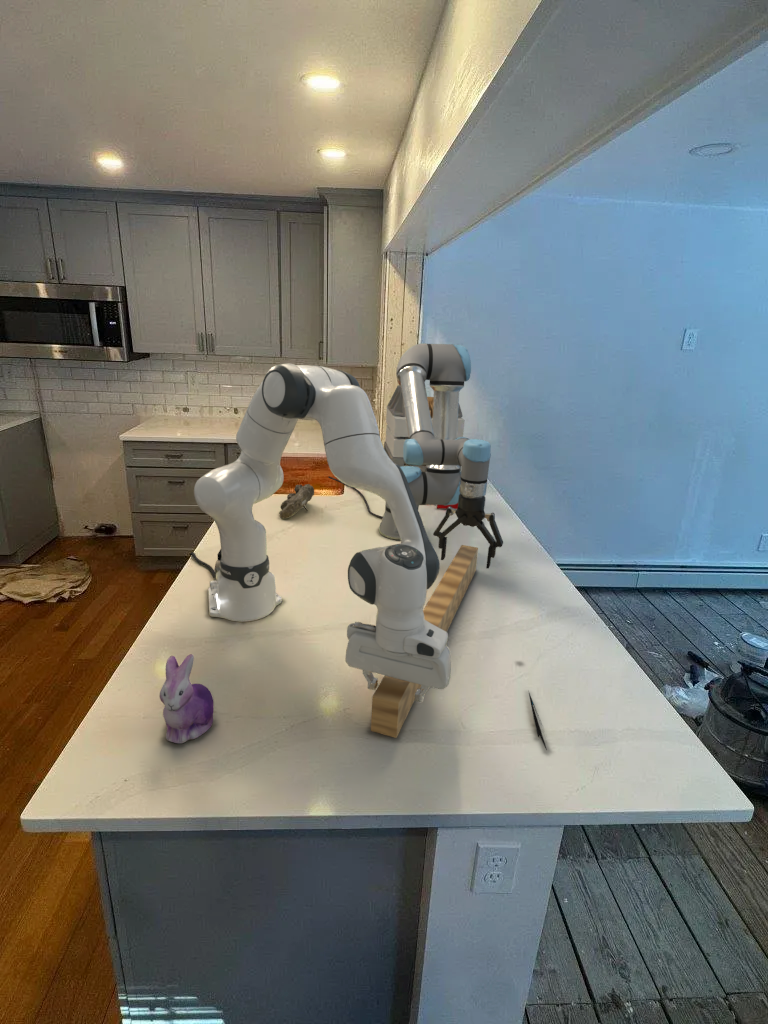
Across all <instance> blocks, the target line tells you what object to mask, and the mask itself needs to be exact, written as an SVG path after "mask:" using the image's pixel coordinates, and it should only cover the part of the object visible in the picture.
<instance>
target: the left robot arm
mask: <svg viewBox="0 0 768 1024" xmlns="http://www.w3.org/2000/svg"><path fill="white" fill-rule="evenodd" d="M299 420H302V421H303V420H304V421H316V422H317V423H318V424H319V426H320V429H321V433H322V441H323V447H324V452H325V457H326V462H327V465H328V467H329V470H330V472H331V473H332V475H333V476H334V478H335V479H337V480H339V481H341V482H343V483H344V484H343V485H345V484H346V485H345V486H347V485H348V486H347V487H349V486H351V487H354V488H356V489H357V490H362V491H366V492H368V493H372V494H374V495H375V496H378V497H379V498H381V499H382V500H383V501H385V504H386V503H387V504H388V506H389V508H390V510H391V513H392V516H393V519H394V522H395V524H396V527H397V530H398V533H399V535H400V538H401V540H400V542H399V543H396V544H390V545H385V546H378V547H374V548H368V549H364V550H361V551H358V552H356V553H354V555H353V556H352V558H351V559H350V561H349V565H348V568H347V581H348V582H347V583H348V586H349V589H350V591H351V592H352V593H353V594H354V595H356V596H357V597H358V598H360V599H361V600H362V601H364V602H366V603H368V604H369V605H374V606H375V607H376V609H377V611H376V612H377V613H376V616H375V625H374V624H369V623H363V622H361V621H354V622H352V623H350V624H349V625H348V626H347V627H346V637H347V640H348V641H347V646H346V651H345V660H344V661H345V663H346V664H347V666H348V667H349V668H350V667H351V668H354V669H358V670H361V671H362V675H363V677H364V679H365V680H366V682H367V689H369V690H372V691H376V689H377V688H378V686H379V683H378V682H379V678H378V677H375V675H374V674H377V675H381V676H389V677H393V678H397V679H401V680H405V681H408V682H412V683H416V684H420V685H421V687H420V689H417V690H416V692H415V699H414V702H418V703H421V704H422V703H423V702H424V699H425V694H427V692H428V691H429V689H430V688H432V689H433V688H434V689H436V690H441V691H442V690H445V689H446V688H447V687H448V686H449V684H450V681H451V677H452V655H451V651H450V648H449V647H448V646H447V644H448V640H449V634H448V631H447V632H446V631H444V630H442V629H440V628H438V627H437V626H435V625H433V624H431V623H429V622H428V621H426V620H425V619H424V612H423V610H424V607H425V603H426V600H427V592H428V590H430V588H432V586H433V585H434V583H435V582H436V580H437V578H438V576H439V573H440V570H441V568H440V567H441V565H440V564H441V563H440V558H439V556H438V553H437V551H436V550H435V548H434V546H433V544H432V542H431V540H430V538H429V536H428V534H427V531H426V528H425V526H424V522H423V520H422V517H421V515H420V511H419V508H417V506H416V503H415V500H414V497H413V495H412V492H411V489H410V487H409V484H408V481H407V479H406V477H405V474H404V472H403V471H402V469H401V468H400V466H399V465H397V464H395V463H393V462H392V460H391V459H390V458H389V456H388V455H387V453H386V452H385V450H384V444H383V442H382V440H381V439H382V438H381V434H380V430H379V426H378V422H377V418H376V415H375V412H374V409H373V406H372V404H371V401H370V399H369V397H368V395H367V393H366V391H365V390H364V389H363V388H361V386H360V383H359V381H358V380H357V378H356V377H355V376H354V375H352V374H350V373H348V371H347V372H346V371H345V370H342V369H334V368H330V367H326V366H323V365H316V364H315V365H311V364H310V365H309V364H308V365H307V364H294V363H288V362H287V363H280V364H276V365H273V366H272V367H270V368H269V369H268V371H266V373H265V375H264V378H263V379H262V381H261V383H260V384H259V385H258V387H257V389H256V390H255V392H254V393H253V395H252V398H251V399H250V402H249V404H248V406H247V408H246V411H245V413H244V415H243V418H242V420H241V421H240V425H239V428H238V430H237V432H236V434H235V435H236V436H235V439H236V443H237V445H238V447H239V449H240V454H239V456H238V458H237V459H236V460H234V461H233V462H231V463H229V464H225V465H223V466H219V467H217V468H213V469H212V470H210V471H208V472H207V473H205V474H204V475H202V476H201V477H200V478H198V479H197V480H196V482H195V484H194V487H193V488H194V489H193V496H194V501H195V503H196V505H197V506H198V508H199V509H200V510H201V511H202V512H203V513H204V514H206V515H207V516H209V517H211V518H212V519H213V521H214V523H215V525H216V527H217V530H218V534H219V541H220V549H221V555H222V558H221V559H220V567H218V568H215V567H214V568H213V567H212V566H211V565H210V564H209V563H207V562H205V561H202V560H201V559H199V558H198V557H197V555H196V553H195V552H193V551H191V552H190V553H189V556H190V557H191V556H192V558H193V560H194V561H195V562H197V563H198V564H200V565H202V566H204V567H206V568H207V569H208V570H209V571H210V573H211V576H212V577H213V578H214V580H210V581H209V587H208V589H207V595H208V596H207V597H208V610H209V611H208V615H209V616H210V617H213V618H222V619H225V620H229V621H233V622H253V621H257V620H259V619H263V618H265V617H267V616H269V615H270V614H272V613H273V611H274V610H275V608H276V607H277V606H278V605H279V604H282V602H283V598H282V596H281V595H279V594H278V593H277V587H276V576H275V574H274V573H273V572H272V571H270V559H269V555H268V551H267V530H266V527H265V526H264V524H263V523H261V522H260V521H259V520H257V519H255V517H254V513H253V506H254V505H255V504H257V503H260V502H262V501H265V500H267V499H268V498H270V497H272V496H273V495H274V494H275V493H276V492H278V490H279V489H281V487H282V486H283V483H284V480H285V479H284V478H285V477H284V476H285V475H284V471H283V468H282V466H281V459H282V457H283V453H284V451H285V449H286V447H287V444H288V443H289V440H290V438H291V436H292V434H293V432H294V430H295V428H296V426H297V423H298V421H299ZM351 487H350V488H351Z"/></svg>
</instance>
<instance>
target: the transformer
mask: <svg viewBox="0 0 768 1024" xmlns="http://www.w3.org/2000/svg"><path fill="white" fill-rule="evenodd" d="M427 399H428V404H429V410H430V416H431V421H433V399H434V396H427ZM385 414H386V415H385V423H386V428H385V438H384V442H383V448H384V450H385V452H386V453H387V455H388V456H389V458H390V459H391V460H392V462H393V463H395V464H397V465H399V466H400V467H402V466H412V467H413V466H415V467H419V466H418V465H408V464H406V463H405V461H404V458H403V446H404V442H405V440H407V439H409V436H408V429H407V422H406V416H405V409H404V402H403V395H402V389H401V386H400V385H399V384H398V385H397V386H396V388H395V390H394V392H393V394H392V395H391V398H390V400H389V402H388V404H387V405H386V413H385ZM464 429H465V419H464V418H463V411H462V408H461V405H460V404H459V407H458V426H457V438H459V437H464V431H465V430H464ZM426 466H427V465H421V466H420V467H426ZM458 466H459V467H460V471H461V466H460V465H458Z"/></svg>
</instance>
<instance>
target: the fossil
mask: <svg viewBox="0 0 768 1024" xmlns="http://www.w3.org/2000/svg"><path fill="white" fill-rule="evenodd" d="M293 490H294V492H292V493H288V494H287V496H286V499H285V500H284V501H283V502H281V504H280V511H279V512H278V514H279V518H280V519H289V518H291V517H293V516H295V515H296V514H297V513H298V512H299V511H300V510H302V509H303V508H304V510H305V511H306V512H308V511H309V510H308V509H307V507H306V505H307V503H308V502H310V501H311V500H312V498H313V496H315V488H314V487H313V485H311V484H309V483H307V484H304V485H303V484H296V485H295V487H294V489H293Z"/></svg>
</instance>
